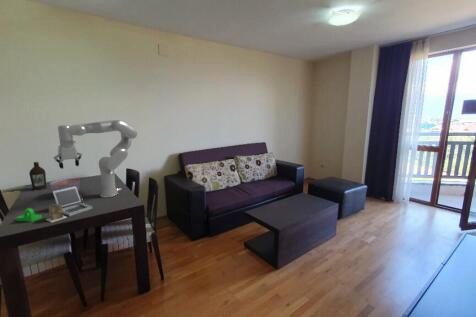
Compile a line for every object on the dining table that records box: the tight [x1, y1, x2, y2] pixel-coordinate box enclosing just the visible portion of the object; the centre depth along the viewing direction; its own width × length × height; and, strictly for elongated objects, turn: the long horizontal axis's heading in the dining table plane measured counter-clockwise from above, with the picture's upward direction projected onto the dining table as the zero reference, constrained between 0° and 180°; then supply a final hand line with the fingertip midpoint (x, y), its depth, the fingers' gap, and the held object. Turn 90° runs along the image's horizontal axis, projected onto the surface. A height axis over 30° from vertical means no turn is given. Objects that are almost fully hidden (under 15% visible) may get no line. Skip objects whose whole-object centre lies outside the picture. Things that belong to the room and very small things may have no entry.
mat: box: [45, 214, 68, 224], centre depth 140 cm, size 8×7×1 cm
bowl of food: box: [49, 178, 81, 192], centre depth 184 cm, size 20×20×12 cm
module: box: [48, 203, 64, 220], centre depth 140 cm, size 5×5×9 cm
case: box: [52, 186, 93, 217], centre depth 154 cm, size 15×20×14 cm
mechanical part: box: [14, 207, 43, 223], centre depth 139 cm, size 12×6×8 cm, turn 81°
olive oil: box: [29, 161, 48, 191], centre depth 198 cm, size 11×11×25 cm
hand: (69, 167), depth 160 cm, fingers open, 9 cm apart
